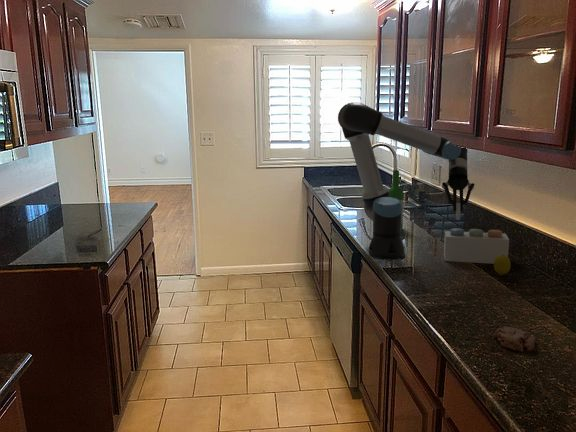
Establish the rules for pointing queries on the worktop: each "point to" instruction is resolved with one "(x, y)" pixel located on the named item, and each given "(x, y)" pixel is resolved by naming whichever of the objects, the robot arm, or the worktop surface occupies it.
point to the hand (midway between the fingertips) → (458, 218)
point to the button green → (475, 233)
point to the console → (474, 248)
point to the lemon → (502, 264)
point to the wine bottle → (397, 191)
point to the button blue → (457, 232)
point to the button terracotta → (495, 233)
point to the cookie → (515, 339)
